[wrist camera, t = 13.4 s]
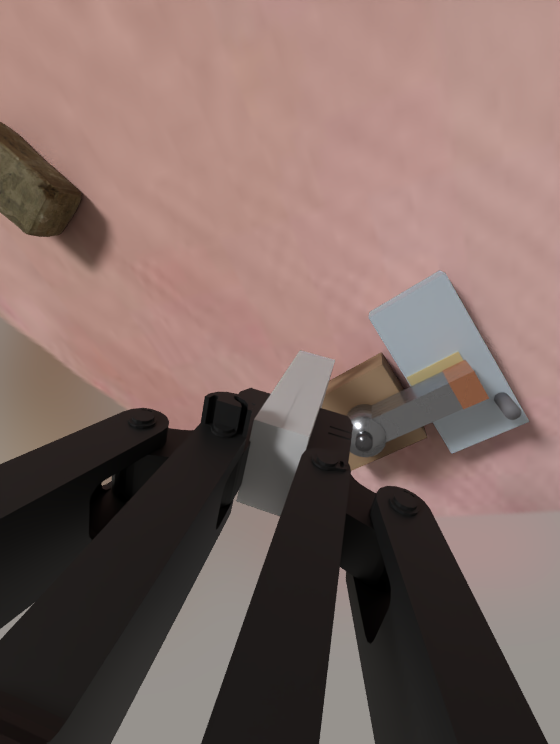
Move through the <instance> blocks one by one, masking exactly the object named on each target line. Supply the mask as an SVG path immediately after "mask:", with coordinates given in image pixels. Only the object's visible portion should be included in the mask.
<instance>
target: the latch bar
mask: <svg viewBox="0 0 560 744" xmlns="http://www.w3.org/2000/svg"><path fill="white" fill-rule="evenodd" d="M487 399H489V397H488V395H487V393H486V392H485V390H484V388H483V386H482V384H481V383H480V381H479V379H478V377H477V375H476V374H475V372H474V370H473V369H472V368H471V366H470V365H469V364H468V362H467V361H466V360H463V361H461V362H459V363H457V364H455V365H453V366H451V367H449V368H447V369H445V370H442V372H440V373H438V374H436V375H434V376H432V377H430V378H428V379H425V380H423V381H421V382H419V383H417V384H415V385H413V386H411V387H409V388H407V389H405V390H403V391H401V392H398V393H396V394H394V395H392V396H390V397H388V398H386V399H384V400H382V401H380V402H378V403H376V404H373V405H368V404H361V405H357V406H355V407H353V408H352V409H351V410H350V411H349V412H348V414H347V416H348V417H349V418H350V420H351V422H352V424H353V430H352V438H351V446H350V452H351V453H352V454H354V455H356V456H359V457H372V456H375V455H377V454H379V453H380V452H381V451H382V450H383V448H384V447H385V444H386V442H388V441H390V440H393V439H395V438H397V437H400V436H402V435H404V434H406V433H409V432H411V431H413V430H416V429H418V428H420V427H422V426H425V425H427V424H429V423H432V422H434V421H436V420H439V419H441V418H443V417H445V416H448V415H450V414H452V413H455V412H457V411H459V410H461V409H466V408H468V407H471V406H473V405H475V404H477V403H480V402H482V401H484V400H487Z"/></svg>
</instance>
